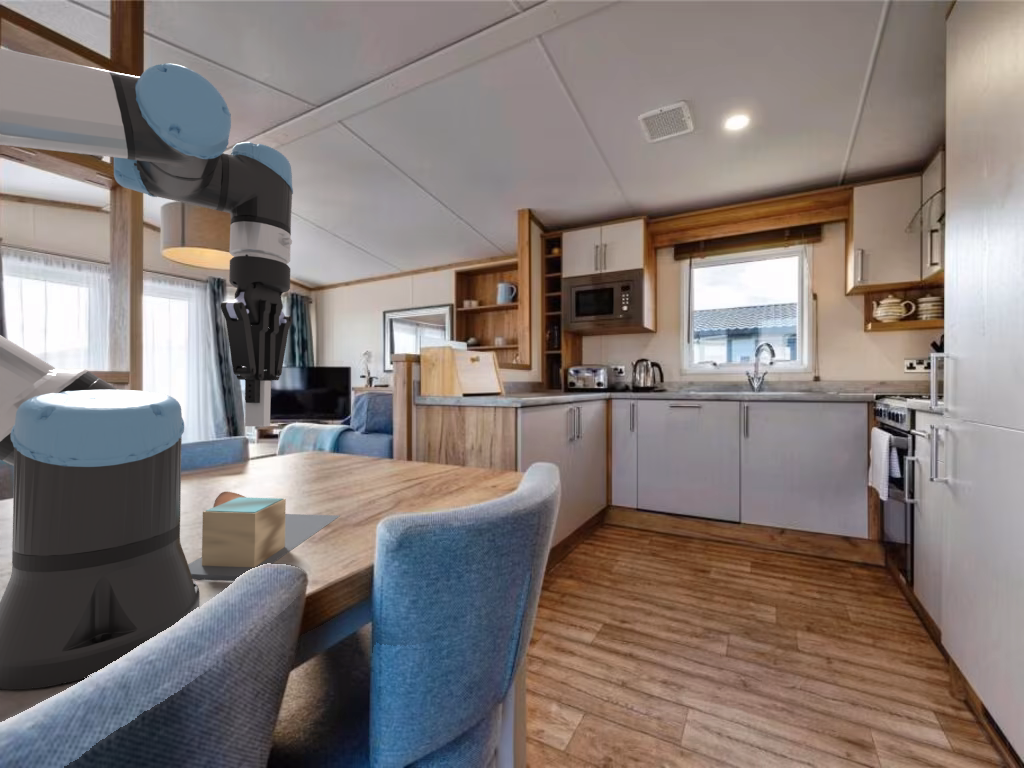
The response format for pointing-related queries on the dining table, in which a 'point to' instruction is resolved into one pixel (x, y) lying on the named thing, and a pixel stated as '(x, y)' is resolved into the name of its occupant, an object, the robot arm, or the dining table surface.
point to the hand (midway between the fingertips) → (257, 425)
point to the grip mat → (295, 534)
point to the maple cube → (243, 532)
